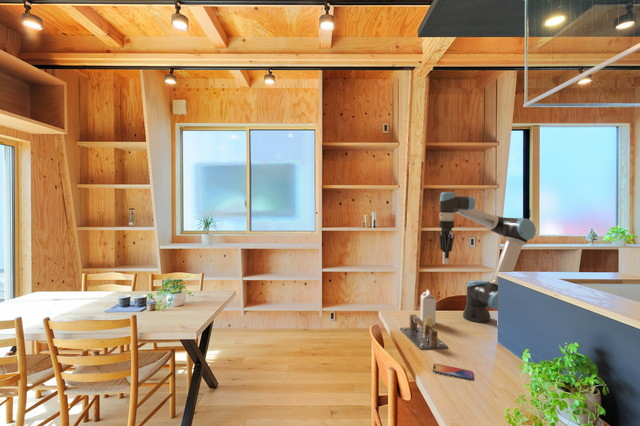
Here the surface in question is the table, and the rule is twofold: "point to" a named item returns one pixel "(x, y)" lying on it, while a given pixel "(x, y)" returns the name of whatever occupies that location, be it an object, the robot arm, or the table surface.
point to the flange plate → (421, 338)
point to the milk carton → (427, 306)
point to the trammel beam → (416, 320)
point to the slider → (427, 324)
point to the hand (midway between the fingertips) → (445, 263)
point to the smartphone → (453, 371)
